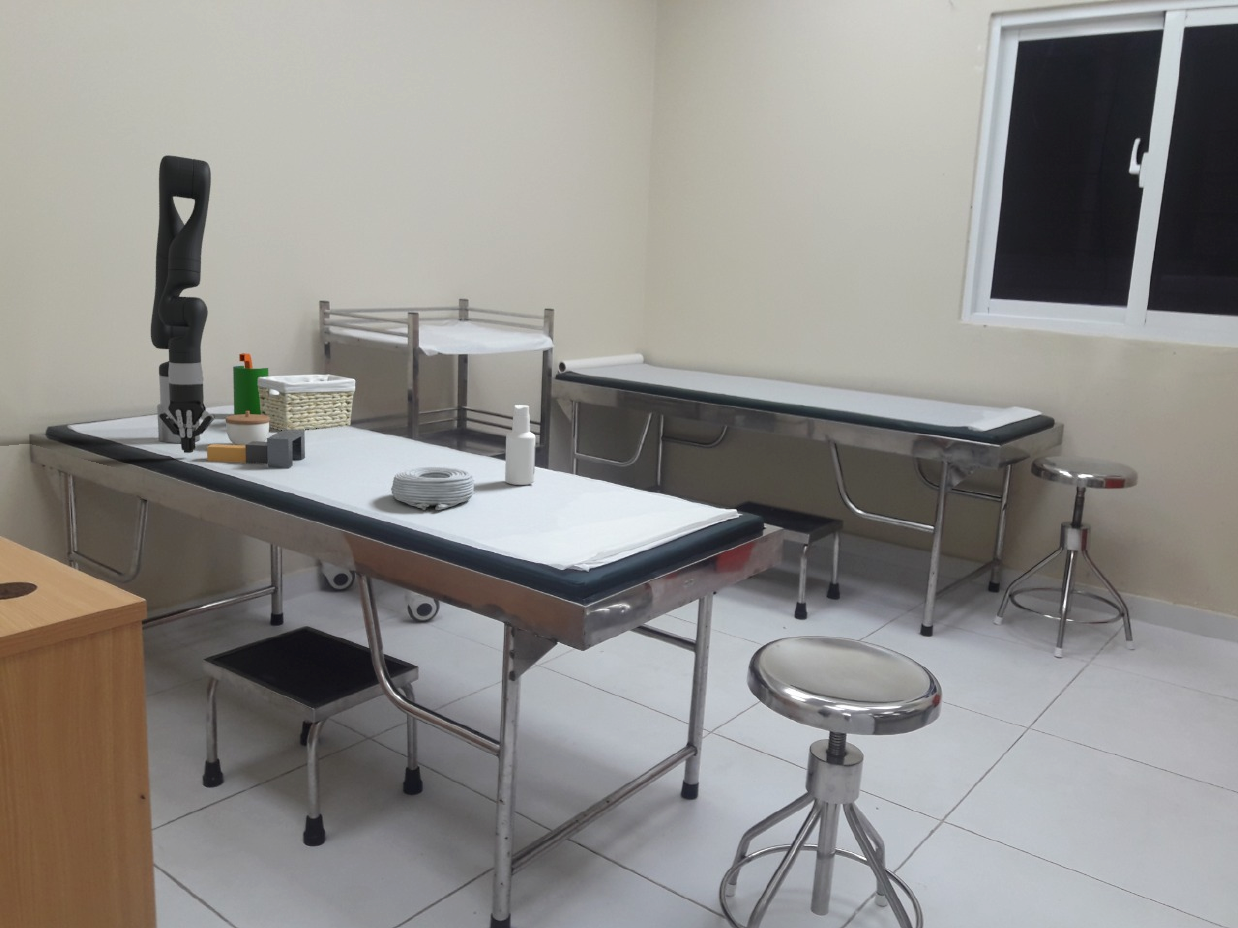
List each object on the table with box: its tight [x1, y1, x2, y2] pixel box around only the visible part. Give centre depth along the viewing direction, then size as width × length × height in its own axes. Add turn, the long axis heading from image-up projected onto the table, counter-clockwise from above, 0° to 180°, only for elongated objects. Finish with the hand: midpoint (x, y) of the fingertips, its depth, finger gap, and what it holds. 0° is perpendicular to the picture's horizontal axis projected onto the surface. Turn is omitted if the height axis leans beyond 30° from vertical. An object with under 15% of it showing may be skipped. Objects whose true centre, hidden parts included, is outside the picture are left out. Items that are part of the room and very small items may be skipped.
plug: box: [206, 441, 268, 465], centre depth 239 cm, size 14×5×4 cm, turn 91°
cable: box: [390, 466, 475, 511], centre depth 211 cm, size 18×18×6 cm
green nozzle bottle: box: [232, 352, 269, 415], centre depth 298 cm, size 10×9×20 cm
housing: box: [266, 429, 306, 469], centre depth 239 cm, size 5×13×7 cm, turn 1°
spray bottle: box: [504, 404, 536, 486], centre depth 229 cm, size 7×7×18 cm
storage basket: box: [257, 373, 356, 431], centre depth 289 cm, size 24×16×15 cm
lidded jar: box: [224, 411, 270, 445], centre depth 256 cm, size 11×11×9 cm
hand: (188, 452), depth 239 cm, fingers closed
